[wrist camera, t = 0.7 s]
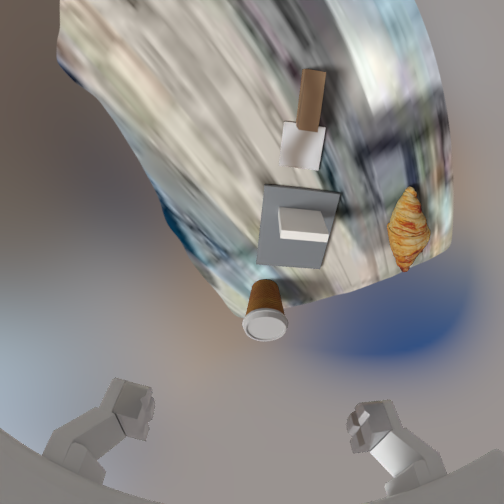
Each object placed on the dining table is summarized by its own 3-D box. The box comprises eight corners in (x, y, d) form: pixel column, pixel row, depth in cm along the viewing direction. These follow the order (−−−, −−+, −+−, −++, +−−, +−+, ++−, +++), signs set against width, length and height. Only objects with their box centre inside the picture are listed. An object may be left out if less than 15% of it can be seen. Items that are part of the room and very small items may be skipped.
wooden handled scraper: (332, 74, 35) (338, 75, 32) (317, 169, 46) (321, 177, 43) (290, 67, 35) (292, 66, 32) (278, 164, 46) (280, 172, 43)
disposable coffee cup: (293, 285, 63) (298, 326, 53) (268, 307, 68) (269, 347, 58) (260, 267, 60) (260, 308, 50) (237, 291, 65) (233, 332, 55)
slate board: (264, 184, 48) (264, 185, 47) (338, 192, 48) (340, 194, 48) (256, 261, 59) (256, 264, 58) (319, 266, 59) (319, 268, 58)
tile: (278, 206, 50) (281, 230, 43) (320, 211, 50) (329, 234, 44) (277, 215, 51) (280, 239, 44) (318, 219, 51) (326, 243, 45)
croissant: (387, 178, 49) (384, 195, 44) (433, 182, 44) (436, 200, 39) (387, 258, 61) (383, 280, 56) (425, 263, 56) (424, 286, 51)
